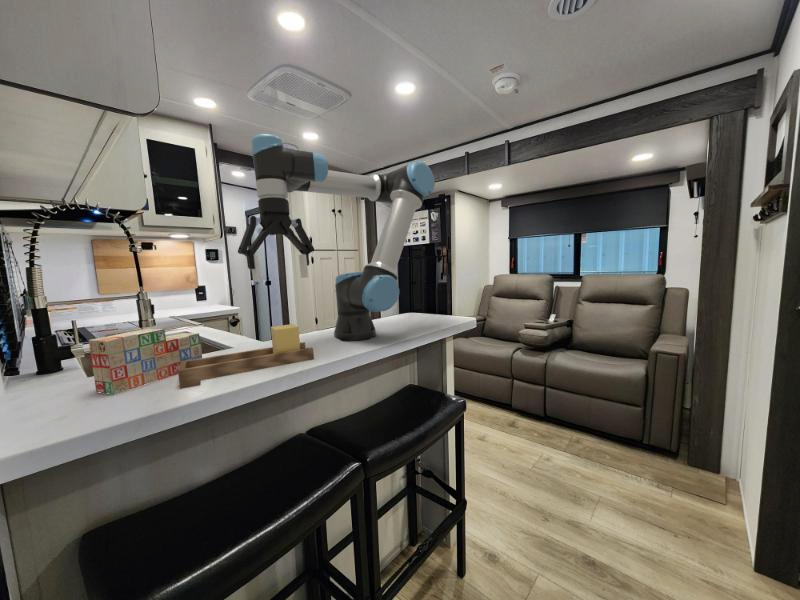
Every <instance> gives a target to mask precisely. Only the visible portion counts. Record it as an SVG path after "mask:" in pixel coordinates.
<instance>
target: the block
mask: <svg viewBox="0 0 800 600" xmlns="http://www.w3.org/2000/svg"><path fill="white" fill-rule="evenodd" d="M270 333H271V343H272V345H271V346H272V347H273V354H275V353H281V352H287V351H293V350H299V349H300V343H301V342H300V340H301V339H300V330H299V326H297V325H296V324H294V323H290V324H284V325H282V324H281V325H275V326H270Z"/></svg>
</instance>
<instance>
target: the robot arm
mask: <svg viewBox="0 0 800 600" xmlns="http://www.w3.org/2000/svg"><path fill="white" fill-rule="evenodd" d="M251 148H252V149H251V151H252V153H251V157H252V161H253V169H254V175H255V176H254V177H255V185H256V194H257V198H258V199H259V200H257V203H258V212H259V217H256V216H255V215H251V216H249V217H247V221H246V222H247V223H246V224H247V227H246V228H245V230H244V234H243V237H242V239H241V241H240V244H239V247H238V249H237V253H238V255H239V254H240V255H244V257H246V263H247V268H248V269H249V270H251V273H252V274H251V275H252V282H253V283H261V274H260V266H259V265H260V264H259V257H258V255H255V253H256V252H257V250H259V248H260V247H261V245H262V244H263V243H264V241H265V239H266V238H267V237H268V236H275V235H276V236H284V237H286V238H287V239H288V240H289V241H290V242H291V244H292V245H293V246H294V247H295V248H296V249H297V251H298V252H299V253H300V254H298V260H299V269H300V271H299V272H300V278H301V279H302V278H303V279H307V278H309V272H308V271H309V270H308V266H310V259H309V258H310V257H309V256H310V254H311V253H313V252H315V247H314V246H313V244H312V242H311V240H310V238H309V236H308V235H307V232H306V231H305V228H304V227H303V224H302V219H301V218H298V217H297V218H295V219H291V217H290V203H289V200H288V198H289V193H294V192H306V193H316V194H317V193H318V194H327V195H335V196H337V195H338V196H343V197H344V196H346V197H357V198H364V199H368V200H369V201H371V202H377V203H385V204H390V208H389V210H388V213H387V216H386V219H385V221H384V224H383V227H382V231H381V233H380V236H379V239H378V242H377V243H376V248H375V250H374V253H373V256H372V259H371V262H370V263H367V264H365V265H364V267H363V270H362V271H355V272H346V273H341V274H339V275H337V276H336V278H335V285H334V287H335V296H336V308H337V320H336V323H335V327H334V330H333V334H334V335H333V338H335V339H338V341H341V340H342V341H344V342H352V341H363V339H364V340H367V338H369V339H371V337H372V338H374V337H376V336H377V330H376V327H375V325H374V322H373V319H372V316H371V312H372V313H373V312H374V313H375V312H377V313H378V312H386V311H388V310H390V309H392V308H393V307H394V306H395V305H396V303H397V301H398V299H399V296H400V288H399V282H398V281H397V280H398V278H399V277H398V274H397V272H396V270H397V266H398V263H399V261H400V258H401V255H402V252H403V249H404V246H405V243H406V240H407V236H408V234H409V230H410V228H411V225H412V222H413V218H414V216H415V212H416V210H419V209H421V208H422V205H423V203H424V199H425V197H427V196H429V195H430V194H432V193H433V191H434V190H435V187H436V186H435V185H436V184H435V183H436V182H435V177H434V174H433V171H432V170H431V168H430V166H429V165H428V164H426V163H425V162H423V161H420V160H417V161H414V162H409V163H408V164H406V165H404V166H401V167H399V168H397V169H395V170H391V171H390V172H386V173H384V174H383V173H381V174H376V173H372V174H370V175H363V174H356V173H349V172H342V171H337V170H330V169H329V163H328V160H327V158H326V156H325V155H323V154H320V153H317V152H314V151H306V150H299V149H292V148H288V147H284V144H283V141H282V138H280V137H279V136H277V135H275V134H272V133H271V134H270V133H261V134H260V133H259V134H256V135H255V136H254V137H253V138H252V139H251ZM258 225H260V226H261V228H262V229H261V230H260V231H259V234H258V235H257V237H256V238H255V239H254V240H253V242H252V244H251V245H250V243H251V241H252V238H253V235H254V232H255V230H256V228H257V226H258ZM291 226H292V227H293V229H294V230H295V231H294V230H292V229H291ZM295 232H296V234H297V235H296V234H295ZM375 335H376V336H375ZM373 336H374V337H373Z"/></svg>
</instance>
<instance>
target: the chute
mask: <svg viewBox="0 0 800 600" xmlns="http://www.w3.org/2000/svg"><path fill="white" fill-rule="evenodd" d="M314 355H315V354H314V347H306V342H305V341H303V342H300V349H299V350H293V351H287V352H281V353H275V354H273V347H271V346H269V347H265V348H259V349H253V350H252V349H251V350H246V351H238V352H233V353H232V352H231V353H226V354H221V355H220V354H219V355H215V356H209V357H208V356H207V357H202V358H200V359H194V360H187V361H181V363H180V366H179V369H178V374H177V375H178V376H177V377H178V383H179V389H186V388H190V387H196V386H200V385H201V383H202V382H201V381H206V380H211V379H217V378H221V377H227V376H232V375H236V374H238V375H239V374H243V373H248V372H252V371H253V372H254V371H259V370H265V369H270V368H275V367H280V366H285V365H290V364H296V363H301V362H306V361H307V362H308V361H312V360H314V359H315V356H314Z"/></svg>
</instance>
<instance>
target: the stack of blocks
mask: <svg viewBox="0 0 800 600" xmlns="http://www.w3.org/2000/svg"><path fill="white" fill-rule="evenodd" d="M88 344H89V345H88V346H89V351H90V354H89V357H90V364H91V367H92V373H93V378H94V385H95V391H96V393H97V392H101V393H109V394H108V395H110V394H116V395H118V394H117V393H119V394H121V393H120V392H122V393H124V392H123V391H125V392H127V391H126V390H128V391H130V390H129V389H132V388H135V387H138V386H141V385H144V384H147V383H150V384H152V383H151V382H153V383H155V382H154V381H156V382H158V381H161V380H163V378H164V379H167V378H170V377H173V376H175V375H178V369H179V366H180V363H181V361H187V360H194V359H200V358H203V353H202V352H203V351H202V350H203V349H202V344H201V338H200V333H199V332H198V333H197V332H191V333H190V332H189V333H187V332H181V333H177V334H171V335H166V331H165V329H164V328H145V329H144V328H143V329H140V330H133V331H127V332H124V333H123V332H122V333H118V334H114V335H107V336H103V337H102V336H101V337H99V338H92V339H89V340H88ZM172 375H173V376H172ZM169 376H170V377H169ZM166 377H167V378H166ZM160 379H161V380H160ZM157 380H158V381H157ZM147 385H148V384H147ZM144 386H145V385H144ZM141 387H142V386H141ZM138 388H139V387H138ZM135 389H136V388H135ZM132 390H133V389H132ZM101 393H100V394H101Z"/></svg>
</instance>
